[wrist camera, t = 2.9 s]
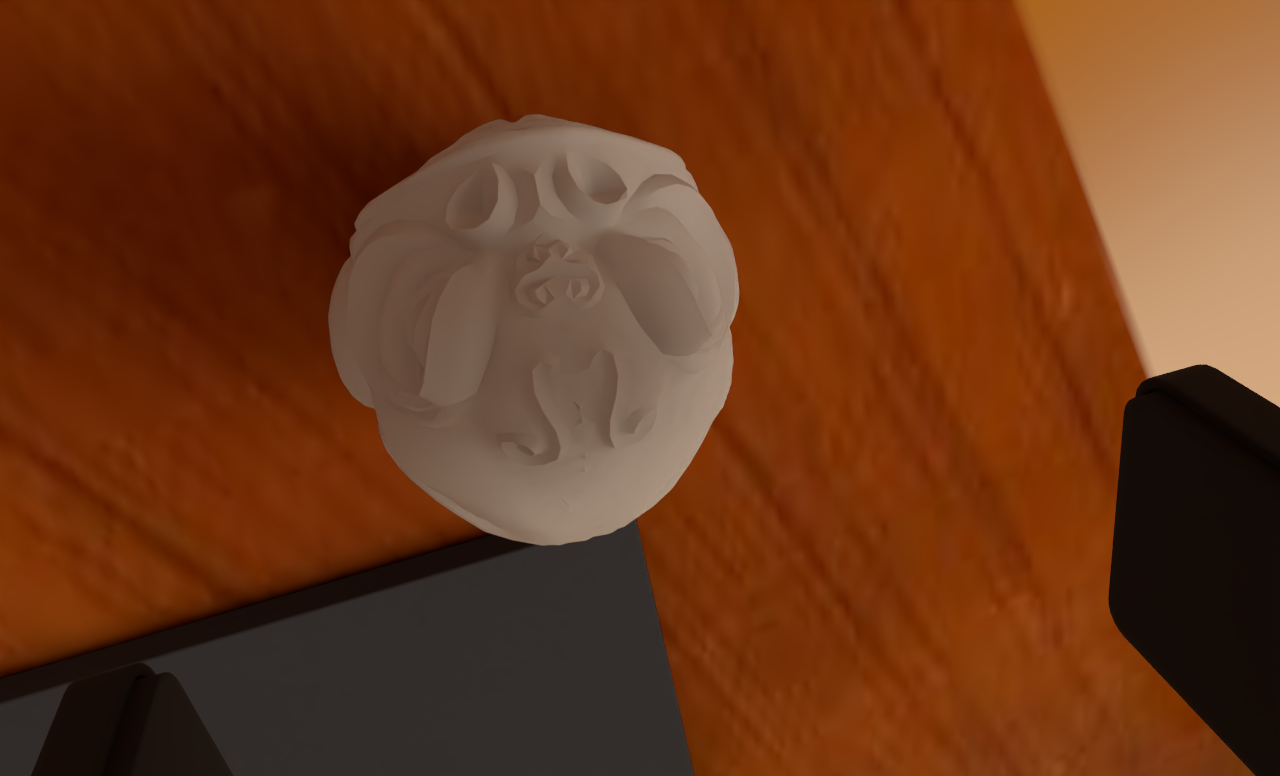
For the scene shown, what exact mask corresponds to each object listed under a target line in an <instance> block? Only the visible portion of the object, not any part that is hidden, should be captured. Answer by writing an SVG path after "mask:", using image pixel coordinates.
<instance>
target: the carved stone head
mask: <svg viewBox="0 0 1280 776" xmlns="http://www.w3.org/2000/svg"><path fill="white" fill-rule="evenodd" d="M354 226H355V228H356V230H357V231H356V232H355V233H354V234H353V236H352V237H351V238H350V253H351V256H350V257H349V258H348V259H347V260H346V262H345V263H344V265H343V267H342V268H341V270H340V272H339V274H338V276H337V279H336V282H335V285H334V288H333V291H332V295H331V301H330V307H329V313H328V322H329V332H330V341H331V350H332V354H333V357H334V360H335V364H336V367H337V370H338V373H339V376H340V378H341V380H342V382H343V384H344V385H345V386H346V388H347V389H348V391H349V392H350V393H351V395H352V396H353V397H354V398H355V399H357V400H358V401H359V402H360V403H362V404H363V405H364V406H367V407H371V408H374V409H375V410H376V415H377V420H378V423H379V433H380V436H381V439H382V441H383V444H384V446H385V449H386V451H387V452H388V453H389V455H390V456H391V457H392V459H393V460H394V461H395V463H396V464H397V465H398V467H399V468H400V469H401V470H402V471H403V472H404V473H405V474H406V475H407V476H408V477H409V478H410V479H411V480H412V481H413V482H414V483H415V484H417V485H418V486H419V487H420V488H421V489H423V490H424V491H425V492H426V493H427V494H429V495H430V496H431V497H432V498H434V499H435V500H436V501H437V502H439V503H440V504H442V505H443V506H445V507H446V508H448V509H449V510H451V511H452V512H454V513H455V514H456V515H458V516H459V517H461V518H463V519H464V520H466V521H468V522H469V523H471V524H473V525H474V526H476V527H478V528H479V529H481V530H483V531H484V532H487V533H491V534H494V535H497V536H500V537H504V538H507V539H510V540H515V541H520V542H526V543H531V544H536V545H542V546H544V545H562V544H566V543H571V542H579V541H586V540H588V539H590V538H592V537H594V536H600V535H605V534H610V533H612V532H614V531H615V530H617V529H618V528H622V527H624V526H626V525H627V524H629V523H630V522H632V521H633V520H634V519H636V518H637V517H639V516H640V515H641V514H643V513H644V512H646V511H647V510H649V509H650V508H651V507H653V506H654V505H655V504H656V503H657V502H658V501H659V500H660V499H662V498H663V497H664V496H665V495H666V494H667V493H668V492H669V491H670V490H671V489H672V488H673V487H674V485H675V484H676V482H677V481H678V480H679V478H680V477H681V475H682V474H683V472H684V471H685V470H686V468H687V467H688V465H689V464H690V462H691V461H692V459H693V458H694V456H695V454H696V452H697V451H698V449H699V447H700V445H701V444H702V442H703V440H704V438H705V436H706V434H707V432H708V430H709V428H710V426H711V424H712V422H713V420H714V419H715V417H716V416H717V415H718V412H719V411H720V410H721V409H722V408H723V406H724V401H725V400H726V397H727V394H728V392H729V388H730V385H731V378H732V366H733V362H734V360H733V353H732V349H733V347H732V335H731V331H730V327H729V326H730V325H731V323H732V321H733V319H734V317H735V313H736V310H737V307H738V301H739V285H738V275H737V267H736V263H735V258H734V253H733V249H732V247H731V244H730V242H729V240H728V238H727V236H726V235H725V233H724V231H723V229H722V228H721V226H720V224H719V222H718V221H717V219H716V217H715V214H714V212H713V210H712V209H711V208H710V206H709V205H708V204H707V203H706V201H705V200H704V199H703V197H702V196H701V195H700V194H699V193H698V188H697V186H696V184H695V181H694V179H693V177H692V175H691V174H690V173H689V172H688V171H687V170H686V165H685V164H684V162H683V160H682V159H681V157H680V156H679V155H677V154H676V153H674V152H673V151H671V150H670V149H668V148H665V147H662V146H659V145H656V144H653V143H650V142H647V141H644V140H641V139H638V138H635V137H631V136H627V135H623V134H619V133H615V132H612V131H608V130H604V129H602V128H598V127H594V126H590V125H586V124H582V123H577V122H571V121H567V120H564V119H559V118H554V117H549V116H545V115H540V114H532V115H525V116H523V117H522V118H521V119H519V120H518V121H517V122H509V121H505V120H502V119H498V120H495V121H491V122H489V123H486V124H483V125H482V126H480V127H477V128H475V129H474V130H472V131H470V132H469V133H467V134H465V135H463V136H462V137H460V138H459V139H458V140H457V141H456V142H455V143H454V144H453V145H451V146H449V147H448V148H446V149H444V150H443V151H441V152H439V153H438V154H436V155H434V156H433V157H431V158H430V159H429V160H428V161H427V162H426V163H425V164H424V165H423V166H422V167H421V168H420V169H419V170H418V171H417V172H415V173H413V174H412V175H410V176H408V177H407V178H405V179H404V180H402V181H401V182H399V183H398V184H396V185H394V186H393V187H391V188H390V189H388V190H387V191H385V192H384V193H382V194H381V195H379V196H378V197H376V198H375V199H373V200H372V201H370V202H368V204H367V205H366V206H365V207H364V208H363V210H362V211H361V212H360V213H359V215H358V217H357V219H356V221H355V223H354Z"/></svg>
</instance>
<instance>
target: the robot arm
mask: <svg viewBox="0 0 1280 776" xmlns="http://www.w3.org/2000/svg"><path fill="white" fill-rule="evenodd" d="M1109 608H1110V612H1111V615H1112V617H1113V620H1114V622H1115V624H1116V626H1117V627H1118V629H1119V631H1120V632H1121V633H1122V634H1123V636H1124V637H1125V638H1126V639H1127V640H1128V641H1129V642H1130V643H1131V644H1132V645H1133V646H1134V647H1135V649H1136V650H1137V651H1138V652H1139V653H1140V654H1141V655H1142V656H1143V657H1144V658H1145V659H1146V660H1147V661H1148V662H1149V663H1150V664H1151V665H1152V667H1153V668H1154V669H1155V670H1156V671H1157V672H1158V673H1159V674H1160V675H1161V676H1162V677H1163V678H1164V679H1165V680H1166V681H1167V682H1168V683H1169V684H1170V686H1171V687H1172V688H1173V689H1174V690H1175V691H1176V692H1177V693H1178V694H1179V695H1180V696H1181V697H1182V698H1183V699H1184V700H1185V701H1186V702H1187V704H1188V705H1189V706H1190V707H1191V708H1192V709H1193V710H1194V711H1195V712H1196V713H1197V714H1198V715H1199V716H1200V717H1201V718H1202V719H1203V720H1204V722H1205V723H1206V724H1207V725H1208V726H1209V727H1210V728H1211V729H1212V730H1213V731H1214V732H1215V733H1216V734H1217V735H1218V736H1219V737H1220V738H1221V739H1222V741H1223V742H1224V743H1225V744H1226V745H1227V746H1228V747H1229V748H1230V749H1231V750H1232V751H1233V752H1234V753H1235V754H1236V755H1237V756H1238V757H1239V759H1240V760H1241V761H1242V762H1243V763H1244V764H1245V765H1246V766H1247V767H1248V768H1249V769H1250V770H1251V771H1252V772H1253V773H1254V774H1255V775H1256V776H1280V408H1279V407H1278V406H1276V405H1275V404H1273V403H1271V402H1270V401H1268V400H1267V399H1265V398H1263V397H1262V396H1260V395H1258V394H1257V393H1255V392H1253V391H1252V390H1250V389H1249V388H1247V387H1245V386H1244V385H1242V384H1240V383H1239V382H1237V381H1236V380H1234V379H1232V378H1231V377H1229V376H1227V375H1226V374H1224V373H1222V372H1221V371H1219V370H1218V369H1216V368H1213V367H1211V366H1208V365H1195V366H1191V367H1187V368H1184V369H1180V370H1177V371H1173V372H1170V373H1166V374H1163V375H1159V376H1155V377H1152V378H1149V379H1147V380H1145V381H1143V382H1142V383H1141V384H1140V386H1139V387H1138V389H1137V392H1136V396H1135V398H1133V399H1131V400H1129V401H1128V403H1127V404H1126V406H1125V411H1124V419H1123V431H1122V443H1121V455H1120V466H1119V478H1118V490H1117V502H1116V514H1115V526H1114V538H1113V550H1112V562H1111V574H1110V586H1109ZM31 776H234V775H233V774H232V772H231V770H230V769H229V767H228V765H227V763H226V762H225V760H224V758H223V756H222V755H221V753H220V751H219V750H218V748H217V746H216V744H215V743H214V741H213V739H212V737H211V736H210V734H209V732H208V731H207V729H206V727H205V725H204V724H203V722H202V720H201V718H200V717H199V715H198V713H197V712H196V710H195V708H194V706H193V705H192V703H191V701H190V699H189V698H188V696H187V694H186V693H185V691H184V689H183V687H182V686H181V684H180V682H179V681H178V679H177V678H176V677H175V675H173V674H172V673H170V672H163V673H160V674H156V673H155V672H154V671H153V669H152V668H151V667H149V666H148V665H146V664H145V663H135V664H132V665H128V666H125V667H121V668H117V669H114V670H110V671H107V672H103V673H100V674H96V675H93V676H89V677H85V678H82V679H78V680H76V681H74V682H73V683H71V684H70V685H69V686H68V688H67V689H66V691H65V693H64V694H63V697H62V699H61V702H60V704H59V707H58V709H57V712H56V714H55V717H54V719H53V722H52V724H51V727H50V729H49V732H48V734H47V737H46V739H45V742H44V744H43V747H42V749H41V752H40V754H39V757H38V759H37V762H36V764H35V767H34V769H33V772H32V774H31Z"/></svg>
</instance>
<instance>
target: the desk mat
mask: <svg viewBox="0 0 1280 776" xmlns="http://www.w3.org/2000/svg"><path fill="white" fill-rule="evenodd" d="M135 663H145V664H146V665H148V666H149V667H151V668H152V669H153V671H154V672H155V673H156V674H160V673H163V672H170V673H172V674H173V675H175V677H176V678H177V679H178V681H179V682H180V684H181V686H182V687H183V689H184V691H185V693H186V694H187V696H188V698H189V699H190V701H191V703H192V705H193V706H194V708H195V710H196V712H197V713H198V715H199V717H200V718H201V720H202V722H203V724H204V725H205V727H206V729H207V731H208V732H209V734H210V736H211V737H212V739H213V741H214V743H215V744H216V746H217V748H218V750H219V751H220V753H221V755H222V756H223V758H224V760H225V762H226V763H227V765H228V767H229V769H230V770H231V772H232V774H233V775H234V776H694V772H693V768H692V764H691V759H690V755H689V750H688V746H687V742H686V737H685V733H684V728H683V724H682V720H681V715H680V711H679V706H678V702H677V698H676V693H675V689H674V684H673V680H672V676H671V671H670V667H669V662H668V658H667V654H666V649H665V645H664V640H663V636H662V632H661V627H660V623H659V618H658V614H657V610H656V605H655V601H654V596H653V592H652V588H651V583H650V579H649V574H648V570H647V566H646V561H645V557H644V552H643V548H642V544H641V539H640V535H639V530H638V526H637V521H636V519H634V520H633V521H632V522H630V523H629V524H627V525H626V526H624V527H622V528H618V529H617V530H615V531H614V532H612V533H610V534H605V535H600V536H594V537H592V538H590V539H588V540H586V541H579V542H571V543H566V544H562V545H544V546H542V545H536V544H531V543H526V542H520V541H515V540H510V539H507V538H504V537H500V536H497V535H494V534H493V535H490V536H486V537H483V538H479V539H476V540H473V541H469V542H466V543H462V544H459V545H456V546H452V547H449V548H445V549H442V550H438V551H435V552H432V553H428V554H425V555H421V556H418V557H415V558H411V559H408V560H404V561H401V562H398V563H394V564H391V565H387V566H384V567H380V568H377V569H374V570H370V571H367V572H363V573H360V574H357V575H353V576H350V577H346V578H343V579H340V580H336V581H333V582H329V583H326V584H322V585H319V586H316V587H312V588H309V589H305V590H302V591H299V592H295V593H292V594H288V595H285V596H282V597H278V598H275V599H271V600H268V601H264V602H261V603H258V604H254V605H251V606H247V607H244V608H241V609H237V610H234V611H230V612H227V613H224V614H220V615H217V616H213V617H210V618H206V619H203V620H200V621H196V622H193V623H189V624H186V625H183V626H179V627H176V628H172V629H169V630H166V631H162V632H159V633H155V634H152V635H148V636H145V637H142V638H138V639H135V640H131V641H128V642H125V643H121V644H118V645H114V646H111V647H108V648H104V649H101V650H97V651H94V652H90V653H87V654H84V655H80V656H77V657H73V658H70V659H67V660H63V661H60V662H56V663H53V664H50V665H46V666H43V667H39V668H36V669H32V670H29V671H26V672H22V673H19V674H15V675H12V676H9V677H5V678H2V679H0V776H31V774H32V772H33V769H34V767H35V764H36V762H37V759H38V757H39V754H40V752H41V749H42V747H43V744H44V742H45V739H46V737H47V734H48V732H49V729H50V727H51V724H52V722H53V719H54V717H55V714H56V712H57V709H58V707H59V704H60V702H61V699H62V697H63V694H64V693H65V691H66V689H67V688H68V686H69V685H70V684H71V683H73V682H74V681H76V680H78V679H82V678H85V677H89V676H93V675H96V674H100V673H103V672H107V671H110V670H114V669H117V668H121V667H125V666H128V665H132V664H135Z"/></svg>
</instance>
